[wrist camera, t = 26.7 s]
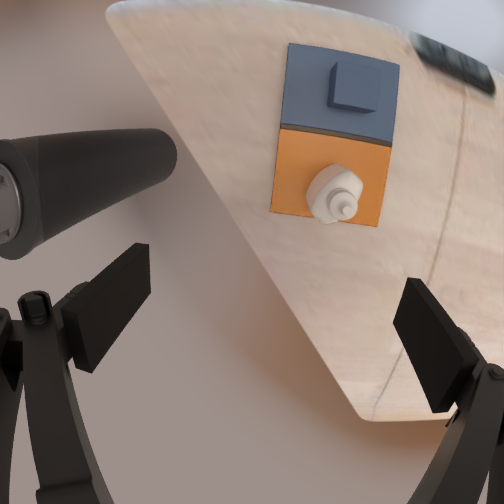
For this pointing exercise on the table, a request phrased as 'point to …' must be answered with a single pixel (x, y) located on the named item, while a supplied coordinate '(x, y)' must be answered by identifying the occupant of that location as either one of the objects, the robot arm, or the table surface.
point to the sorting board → (332, 132)
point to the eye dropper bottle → (334, 194)
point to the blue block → (354, 87)
